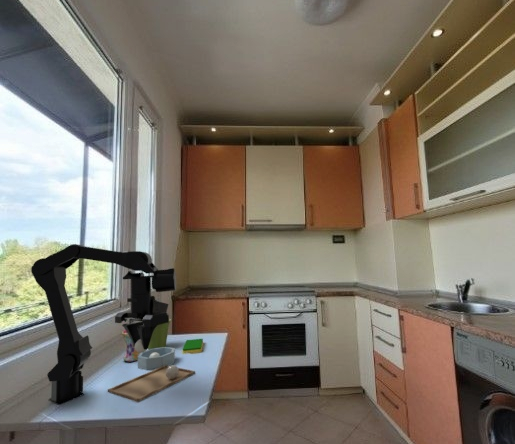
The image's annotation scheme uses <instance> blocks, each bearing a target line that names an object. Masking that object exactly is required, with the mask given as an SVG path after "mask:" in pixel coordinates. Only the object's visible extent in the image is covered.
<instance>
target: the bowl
mask: <svg viewBox="0 0 515 444" xmlns="http://www.w3.org/2000/svg"><path fill="white" fill-rule="evenodd" d="M154 352H157V353H159V355H160V356H157V357H149V356H150V355H151V354H152V353H154ZM175 360H176V348H175V347H168V346H166V347H161V348H153V349H150V350H149V349H147V350H146V351H145V352H142V353H140V354H139V356H138V361H137V369H140V370H145V371H149V370H150V371H153V370H155V369H158V368H160V367H163V366H165V365H167V366H171V365H174V364H175Z"/></svg>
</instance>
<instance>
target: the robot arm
mask: <svg viewBox="0 0 515 444" xmlns="http://www.w3.org/2000/svg"><path fill="white" fill-rule="evenodd" d="M80 259H83V260H90V261H97V262H103V263H108V264H115V265H119V266H120V267H123V268H126V269H128V271H127V273H126V274H124V276H123V277H122V280H130V281H129V282H130V283H129V284H130V286H129V287H130V289H129V290H130V297H128V298H126V299H127V303H130V310H126V311H121V312H117V313H116V315H115V316H114V323H115V324H121V323H123V322H124V323H123V324H121V326H122V327H123V328H124V331H125V330H126V331H127V333H128V335H129V337H130V338H131V340H132V342H133V344H134V346H135V343H136V342H137V341H138V340H139V339H140V338H141V342H142V345H143V348H144V350H145V349H147V350H149V349H148V347H149V343H150V340H151V337H152V334H153V331H154V329H155V328H156V327H157V326H158V325H160V324H164V323H168V322H169V319H170V315H169V313H168V309H169V303H167V302H166V303H165V302H162V301H158V300H157V299H156V297H155V295H152V290H155V292H156V293H164V292H176V291H177V286H178V284H177V283H178V280H177V279H178V278H177V274H176V269H175V267H172V268H168V269H167V268H166V269H158V268H157V267H156V265H155V264H154V262H153V259H152V256H151V255H150V254H149V253H148V252H145V251H140V250H137V251H134V250H133V251H131V250H130V251H129V250H128V251H116V250H109V249H102V248H98V247H97V248H96V247H92V246H91V247H90V246H86V245H85V246H84V245H82V244H76V243H75V244H74V243H72V244H69V245H68V246H66V247H64V248H63V249H61V250H59V251H56V252H55V253H52V254H50V255H48V256H47V257H43V258H39V259H38V260H36V261H34V263H33V264H32V266H30V267H31V268H30V270H31V274H32V276H33V278H34V280H35V282H36V284H38V286H39V287H40V288H41V289H42V290H43V291H44V293H45V297H46V299H47V304H48V307H49V310H50V313H51V316H52V320H53V324H54V328H55V331H56V334H57V338H58V344H57V350H56V357H57V363H55V365H54V366H53V368H52V369H50V370H49V372H47V379H48V381H49V382H51V389H50V390H51V391H50V393H51V394H50V395H51V397H50V398H48V399H47V400H48V401H49V402H51V403H53V404H55V405H58V406H60V405H63V404H65V403H67V402H70V401H72V400H74V399H77V398H81V397H82V396H84V395H85V393H84V375H82V371H81V370H82V369H83V368H84V365H85V364H86V362H87V361H88V360H90V357H91V354H92V351H91V350H92V349H93V347H92V346H91V343H90V337H89V335H88V334H87V335H85V336H83V335H82V334H80V333H79V331H78V327H77V324H76V323H77V322H76V320H75V317H74V313H73V309H72V307H71V303H70V300H69V297H68V293H67V290H66V279H67V269H69V268H70V267H71V266H73V265H74V264H75V263H76V262H77V261H78V260H80ZM133 271H134V272H135V271H136V272H135V273H134V272H133ZM138 271H139V272H138ZM141 271H142V272H141ZM144 273H145V274H152V275H145V274H144Z"/></svg>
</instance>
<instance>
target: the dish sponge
mask: <svg viewBox="0 0 515 444" xmlns="http://www.w3.org/2000/svg"><path fill="white" fill-rule="evenodd" d="M203 346H204V338H195V339H194V338H193V339H187V340H186V341H185V343H184V345H183V347H182V354H183V355H184V354H192V355H193V354H200V353H202V350H203Z"/></svg>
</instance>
